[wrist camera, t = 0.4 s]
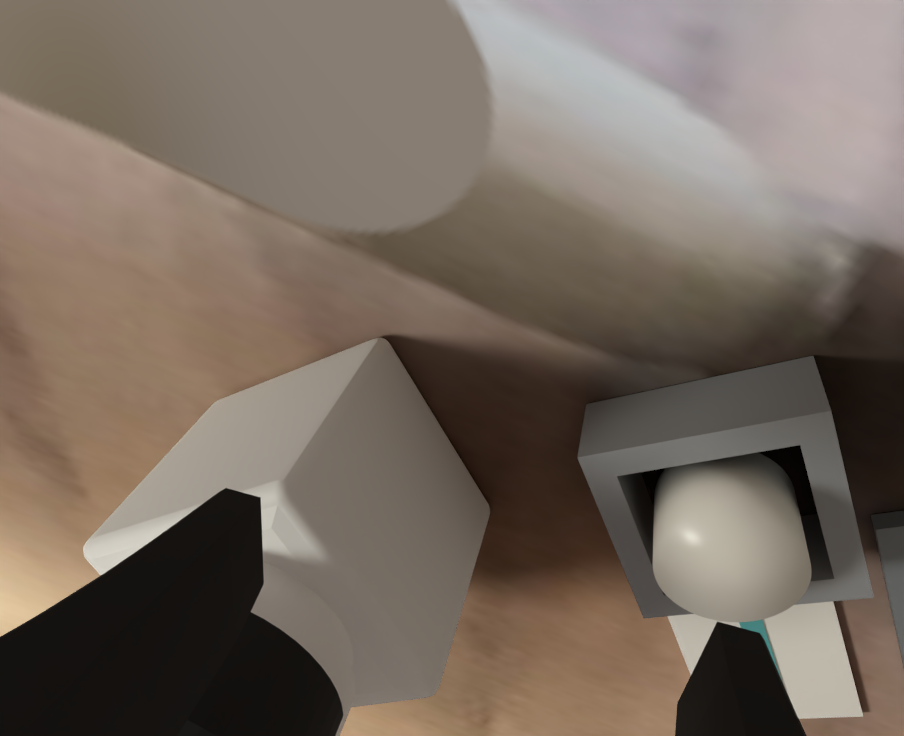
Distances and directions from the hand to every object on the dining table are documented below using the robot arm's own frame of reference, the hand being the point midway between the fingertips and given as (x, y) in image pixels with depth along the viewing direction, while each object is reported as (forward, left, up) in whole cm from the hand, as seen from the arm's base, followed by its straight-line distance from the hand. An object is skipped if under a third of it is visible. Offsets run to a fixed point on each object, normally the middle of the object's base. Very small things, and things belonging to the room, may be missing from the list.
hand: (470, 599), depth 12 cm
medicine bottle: (-3, +8, -10) cm, 13 cm away
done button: (-6, -3, -9) cm, 11 cm away
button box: (-6, -3, -10) cm, 12 cm away
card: (-14, -2, -10) cm, 17 cm away
